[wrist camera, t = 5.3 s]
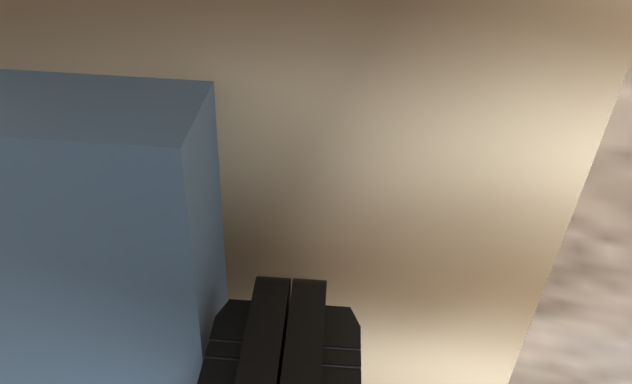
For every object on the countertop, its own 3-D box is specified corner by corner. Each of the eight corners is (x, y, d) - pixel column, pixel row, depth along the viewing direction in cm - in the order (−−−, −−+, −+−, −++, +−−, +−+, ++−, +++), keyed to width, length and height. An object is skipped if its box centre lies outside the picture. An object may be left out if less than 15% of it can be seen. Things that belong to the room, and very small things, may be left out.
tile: (-104, 62, 11) (-212, 124, 9) (213, 81, 11) (180, 148, 9) (15, 374, 16) (-35, 460, 14) (233, 389, 16) (215, 478, 14)
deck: (12, -230, 12) (-124, -240, 8) (616, -186, 11) (723, -180, 8) (126, 364, 22) (85, 466, 18) (446, 390, 22) (464, 498, 18)
